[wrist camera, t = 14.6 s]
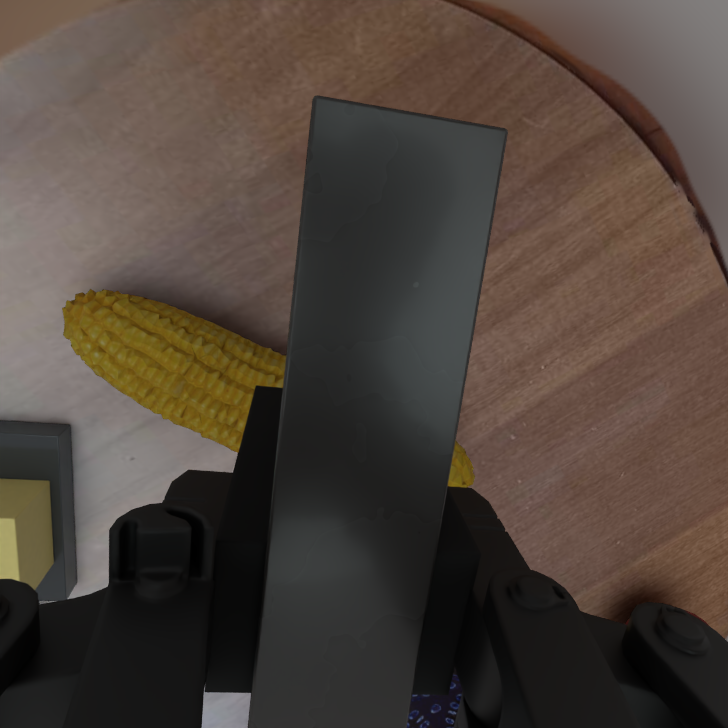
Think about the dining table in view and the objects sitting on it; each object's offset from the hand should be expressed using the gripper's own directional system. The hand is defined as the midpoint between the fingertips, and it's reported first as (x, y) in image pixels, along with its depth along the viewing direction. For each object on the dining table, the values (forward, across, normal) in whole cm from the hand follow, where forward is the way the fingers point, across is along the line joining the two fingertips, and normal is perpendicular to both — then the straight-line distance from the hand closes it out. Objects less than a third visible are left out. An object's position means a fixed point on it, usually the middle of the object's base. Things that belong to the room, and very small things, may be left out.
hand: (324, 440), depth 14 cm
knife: (0, 0, -5) cm, 5 cm away
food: (+15, -1, -4) cm, 15 cm away
